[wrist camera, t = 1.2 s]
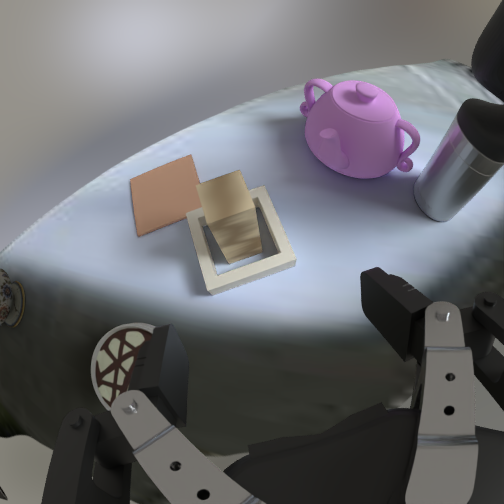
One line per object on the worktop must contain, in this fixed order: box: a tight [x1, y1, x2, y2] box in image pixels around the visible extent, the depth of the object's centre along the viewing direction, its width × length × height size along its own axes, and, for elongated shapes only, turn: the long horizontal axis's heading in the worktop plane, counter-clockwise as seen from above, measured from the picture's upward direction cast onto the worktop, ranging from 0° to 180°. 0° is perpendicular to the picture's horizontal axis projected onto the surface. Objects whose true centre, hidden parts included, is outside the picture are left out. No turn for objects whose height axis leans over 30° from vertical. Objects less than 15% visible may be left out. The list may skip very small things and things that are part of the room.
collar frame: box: [186, 185, 296, 295], centre depth 39 cm, size 12×12×3 cm
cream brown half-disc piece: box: [91, 323, 155, 411], centre depth 31 cm, size 12×6×10 cm, turn 151°
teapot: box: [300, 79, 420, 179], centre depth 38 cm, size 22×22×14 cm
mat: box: [130, 155, 202, 237], centre depth 45 cm, size 12×12×1 cm
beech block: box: [196, 170, 263, 264], centre depth 34 cm, size 5×5×13 cm
